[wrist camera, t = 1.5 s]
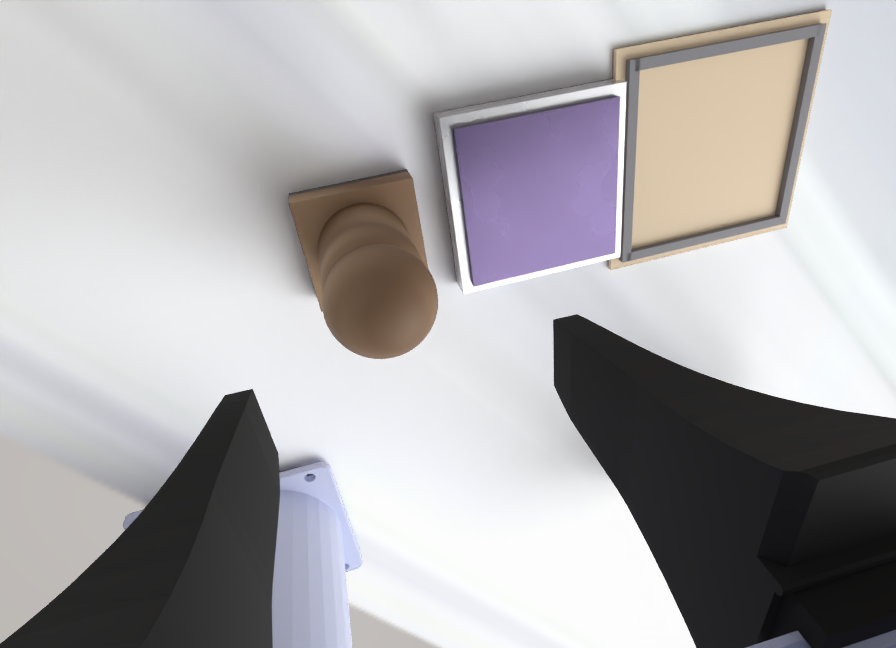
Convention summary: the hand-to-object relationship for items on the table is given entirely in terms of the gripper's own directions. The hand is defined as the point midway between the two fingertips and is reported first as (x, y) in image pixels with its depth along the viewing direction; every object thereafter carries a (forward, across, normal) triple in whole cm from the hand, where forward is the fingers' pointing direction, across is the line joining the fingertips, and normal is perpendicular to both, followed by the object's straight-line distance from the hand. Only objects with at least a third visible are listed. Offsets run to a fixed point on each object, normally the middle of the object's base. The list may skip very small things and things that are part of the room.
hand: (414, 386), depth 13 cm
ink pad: (+10, -7, 0) cm, 12 cm away
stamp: (+10, 0, 0) cm, 10 cm away
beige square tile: (+10, -15, -1) cm, 18 cm away
